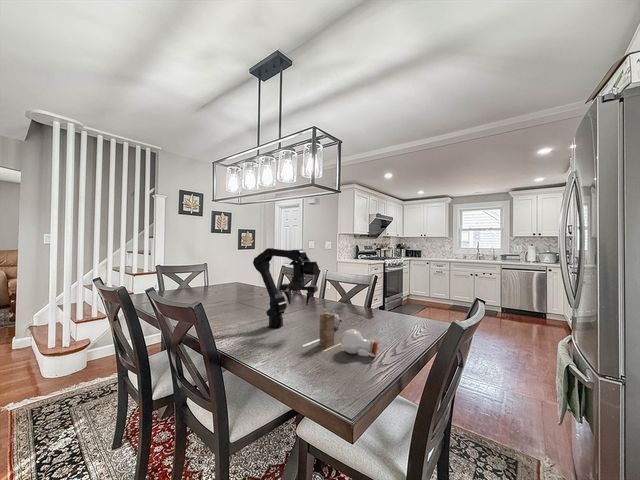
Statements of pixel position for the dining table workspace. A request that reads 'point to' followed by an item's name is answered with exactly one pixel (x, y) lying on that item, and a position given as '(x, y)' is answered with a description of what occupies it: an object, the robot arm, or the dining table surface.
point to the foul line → (311, 343)
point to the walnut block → (327, 329)
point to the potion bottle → (357, 343)
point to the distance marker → (332, 347)
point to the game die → (336, 320)
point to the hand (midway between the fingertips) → (298, 305)
